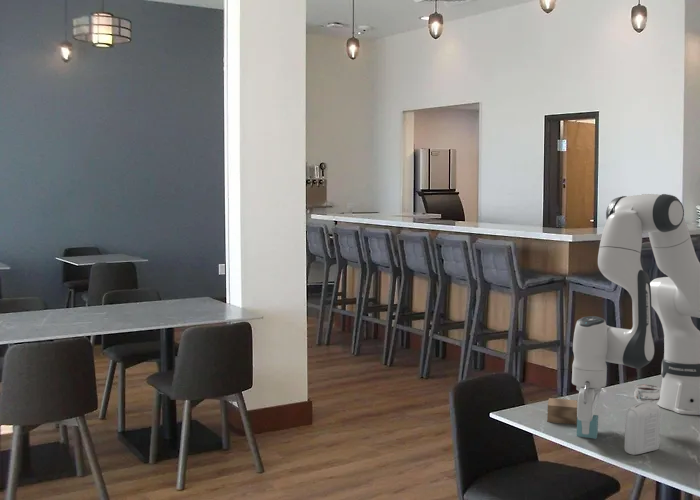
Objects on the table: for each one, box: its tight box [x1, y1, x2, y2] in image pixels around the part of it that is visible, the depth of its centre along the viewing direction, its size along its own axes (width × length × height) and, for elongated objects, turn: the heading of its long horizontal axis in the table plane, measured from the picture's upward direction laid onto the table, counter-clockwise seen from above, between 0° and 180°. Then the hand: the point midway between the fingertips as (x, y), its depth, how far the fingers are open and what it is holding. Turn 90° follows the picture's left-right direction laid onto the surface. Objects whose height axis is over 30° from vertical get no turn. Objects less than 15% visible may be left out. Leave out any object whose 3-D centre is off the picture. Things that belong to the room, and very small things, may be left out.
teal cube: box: [576, 414, 599, 439], centre depth 213 cm, size 5×5×5 cm
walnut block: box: [546, 397, 578, 425], centre depth 227 cm, size 8×8×5 cm
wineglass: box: [633, 383, 661, 404], centre depth 217 cm, size 7×7×12 cm
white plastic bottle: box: [624, 402, 662, 456], centre depth 200 cm, size 10×4×12 cm, turn 123°
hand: (587, 428), depth 213 cm, fingers open, 8 cm apart
